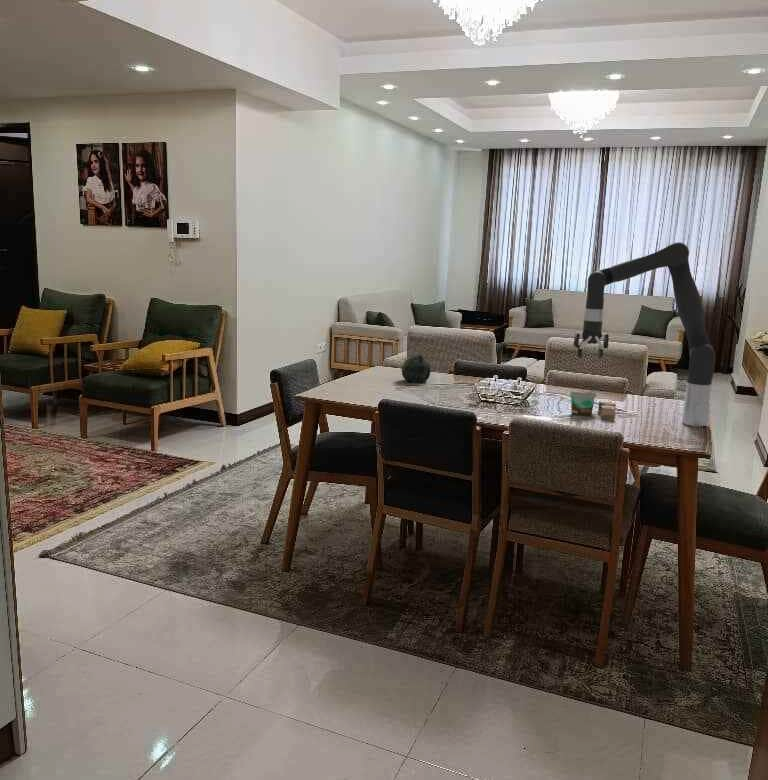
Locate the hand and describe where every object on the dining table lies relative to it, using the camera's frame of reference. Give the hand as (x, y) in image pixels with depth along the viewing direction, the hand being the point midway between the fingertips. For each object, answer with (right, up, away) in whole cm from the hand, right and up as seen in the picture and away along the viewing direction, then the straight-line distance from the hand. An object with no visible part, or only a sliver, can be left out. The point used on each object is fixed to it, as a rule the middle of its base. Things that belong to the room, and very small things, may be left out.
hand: (589, 357), depth 299 cm
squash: (-70, -9, +68) cm, 98 cm away
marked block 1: (+9, -24, +6) cm, 26 cm away
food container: (-1, -24, +4) cm, 25 cm away
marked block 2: (+7, -26, -2) cm, 27 cm away
